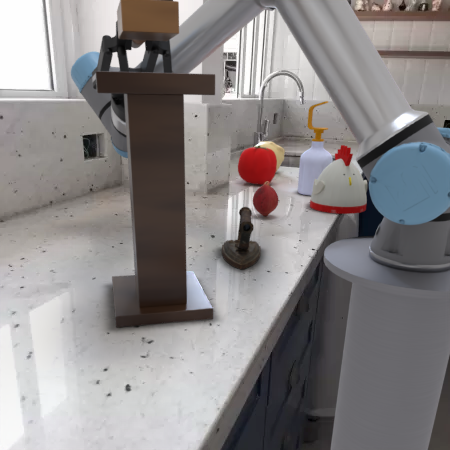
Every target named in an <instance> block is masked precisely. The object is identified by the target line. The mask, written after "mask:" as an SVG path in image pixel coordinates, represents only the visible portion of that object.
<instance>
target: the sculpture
mask: <svg viewBox="0 0 450 450" xmlns="http://www.w3.org/2000/svg"><path fill="white" fill-rule="evenodd" d="M258 145H260V147H266V148H269V149H272V150H273V151H274V152H275V155H276V159H277V168H276V172H278V170H279V169H280V167H281V165H282V163H283V162H284V160H285V153H286V150H285V148H284V147H282V146H280V145H278V144H277V143H275V142H274V141H268V140H266V141H259V143H258V144H255V145H254V146H253V147H255V146H256V147H258Z"/></svg>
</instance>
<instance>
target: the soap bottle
mask: <svg viewBox="0 0 450 450" xmlns="http://www.w3.org/2000/svg"><path fill="white" fill-rule="evenodd" d="M328 103H329V101H328V100H326V101H322V102H319V103H316V104H313V105H311V106H309V109H308V112H307V113H308V114H307V128H308V129H309V130H312V131H313V133H314V134H315V135H314V138H311V146H310V148H308V149H306V150H305V151H304V152H303V153H301V155H300V157H299V166H298V167H299V168H298V181H297V193H299V194H300V195H303V196H310V197H311V195H312V192H313V184H314V180H315V179H318V177H319V176H320V174H321V173H322V171H323V170H324V169H325V168H326V167H327V166H328V165H329V164H330V163H332V162H333V160H334V159H333V154H331V153H330V152H329V150H326V149H325V147H324V145H325V139H324V138H322V135H323V134H324V132H325V131H328V130H329V127H316V126H315V127H314V126H313V115H314V110H315V108H317V107H320V106H322V105H325V104H328Z"/></svg>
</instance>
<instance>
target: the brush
mask: <svg viewBox="0 0 450 450" xmlns="http://www.w3.org/2000/svg"><path fill="white" fill-rule="evenodd" d="M179 3H180V2H179V1H178V0H119V3H118V6H117V9H116V21H117V22H118V38H119V39H129V40H132V48H133V49H138V48H140V47H141V46H142V45H143V44H145V41H146V40H153V41H168V40H170V39H171V38H173V37H174V36H176V35H177V34H179V26H180V4H179Z"/></svg>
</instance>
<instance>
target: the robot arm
mask: <svg viewBox="0 0 450 450" xmlns="http://www.w3.org/2000/svg"><path fill="white" fill-rule="evenodd" d="M274 10H277V13H279V15H280V17H281V19H282V20H283V23H285V25H286V27H287V28H288V30H289V32H290V33H291V35H292V37H293V38H294V40H295V41H296V43H297V45H298V47H299V48H300V50H301V51H302V53H303V56H305V58H306V60H307V61H308V63H309V64H310V66H311V68H312V69H313V71H314V73H315V75H316V76H317V78H318V80H319V81H320V83H321V84H322V86H323V88H324V89H325V91H326V93H327V95H328V96H329V97H330V100H331V101H332V102H333V104H334V106H335V108H336V110H337V111H338V113H339V114H340V116H341V118H342V120H343V121H344V123H345V124H346V126H347V127H348V129H349V131H350V133H351V134H352V135H353V137H354V139H355V140H356V142H357V144H358V149H357V153H356V157H355V161H356V163H357V164H358V166H359V168H360V170H361V171H362V173H363V174H364V176H365V178H366V180H367V182H368V190H369V196H370V199H371V202H372V204H373V205H374V207H375V209H376V210H377V211H378V213H380V215H382V216H383V218H382V221H381V222H380V223H379V224H378V226H377V229H376V231H375V234H374V235H373V236H374V238H373V240H372V242H371V245H370V249H369V257H370V258H371V259H372V260H373V261H375V262H377V263H379V264H381V265H384V266H387V267H390V268H394V269H398V270H403V271H410V272H420V273H436V272H444V271H448V270H450V128H449V127H439V126H436V123H435V122H434V120H433V119H432V116H431V115H430V114H429V112H428V111H423V110H416V109H413V108H412V106H411V105H410V103H409V102H408V100H407V98H406V96H405V94H404V93H403V91H402V90H401V88H400V87H399V85H398V83H397V82H396V80H395V78H394V76H393V75H392V73H391V72H390V70H389V68H388V66H387V64H386V63H385V61H384V60H383V58H382V57H381V56H382V55H380V53H379V51H378V50H377V47H376V46H375V45H374V43H373V41H372V40H371V38H370V36H369V34H368V33H367V31H366V29H365V28H364V26H363V25H362V23H361V21H360V19H359V18H358V16H357V15H356V13H355V11H354V9H353V8H352V6H351V5H350V3H349V1H348V0H205V2H203V3H202V4H201V5H200V6H199V7H198V8H197V9H196V10H195V11H194V12H192V13H191V15H189V17H188V18H187V19H185V20H184V21H183V22H182V23H181V24H179V34H177V35H176V36H174V37H173V38H171V39H170V40H168V41H153V40H146V41H145V42H144V47H145V50H144V54H143V58H142V61H140V62H139V63H138V64H137V65H136V66H135V67H129V60H128V59H129V58H128V52H127V51H132V50H133V49H132V40H129V39H119V38H118V22H117V20H116V22H115V35H114V36H110V35H108V34H105V35H103V36H101V37H102V38H101V42H100V43H101V44H100V49H99V51H87V52H86V53H84V54H82V55H81V56H79V57H78V58H77V59H76V60H75V62H74V63H73V65H72V66H71V68H70V77H71V79H72V81H73V83H74V85H75V86H76V87H77V89H78V90H79V91H78V92H79V94H80V95H81V96H82V97H83V98H84V100H85V101H86V103H87V104H88V105H89V107H90V108H91V110H92V111H93V113H94V114H95V115H96V117H97V118H98V119H99V121H100V122H101V124H102V126H103V127H104V128H105V129H106V131H107V133H108V134H109V136H110V141H111V144H112V147H113V149H114V150H115V152H116V153H117V154H118V156H121V157H122V158H125V159H128V152H127V136H126V119H125V103H124V94H116V93H97V87H96V71H118V72H154V73H191V72H192V71H194V70H195V68H197V67H198V66H200V65H201V64H202V63H203V62H204V61H205V60H207V59H208V58H209V57H210V56H211V55H213V54H214V53H215V52H216V51H217V50H218V49H220V48H222V46H224V45H225V44H226V43H227V42H228V41H229V40H230V39H232V38H233V37H234V36H235V35H237V34H238V33H239V32H240V31H241V30H242V29H244V28H245V27H246V26H247V25H248V24H249V23H250V22H252V21H253V20H254V19H255V18H257V17H258V16H259V15H260V14H261V13H263V12H264V11H270V12H273V11H274ZM114 53H116V55H117V59H118V66H119V67H118V66H111V64H112V59H113V54H114Z"/></svg>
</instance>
